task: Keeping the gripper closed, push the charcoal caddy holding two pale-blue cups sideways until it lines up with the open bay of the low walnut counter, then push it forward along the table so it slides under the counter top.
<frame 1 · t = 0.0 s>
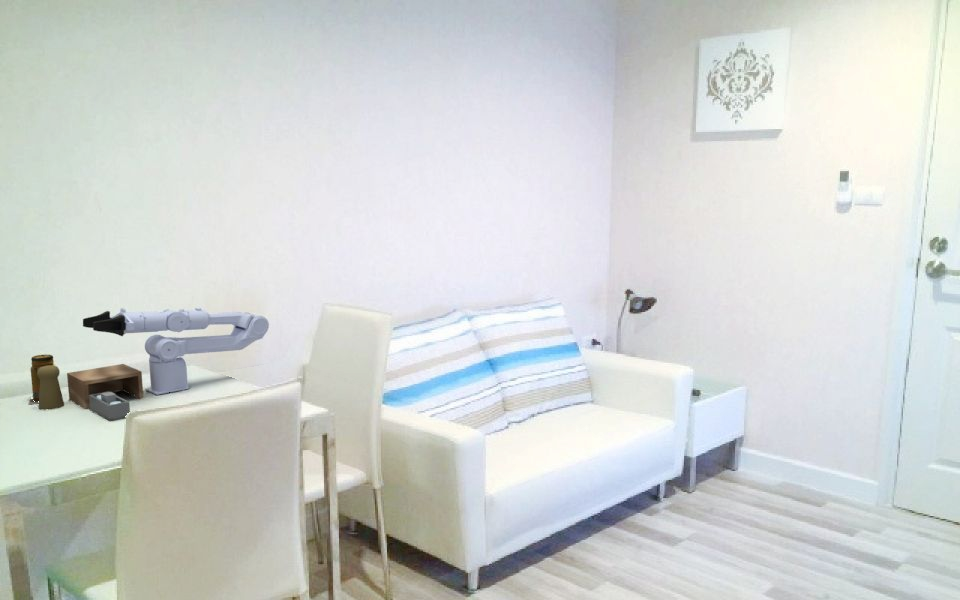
hand: (88, 324, 206), 22 cm above the table, tool horizontal, fingers open, 7 cm apart
condiment: (45, 400, 215), on the table
counter: (106, 398, 215), on the table
tray: (109, 413, 201), on the table
cork: (51, 407, 208), on the table
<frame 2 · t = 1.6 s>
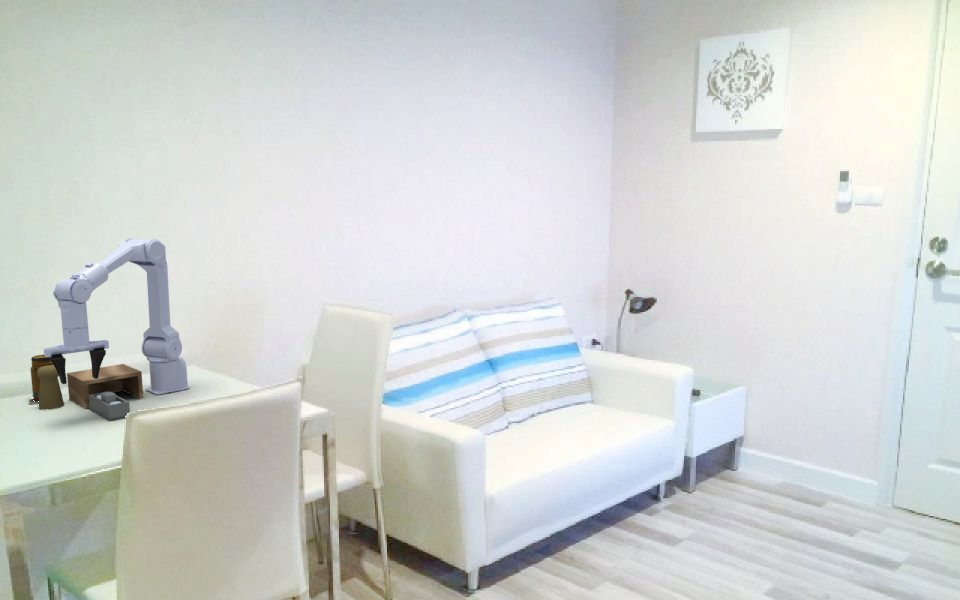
hand: (79, 380, 195), 10 cm above the table, tool pointing down, fingers open, 7 cm apart
nothing on the table moved.
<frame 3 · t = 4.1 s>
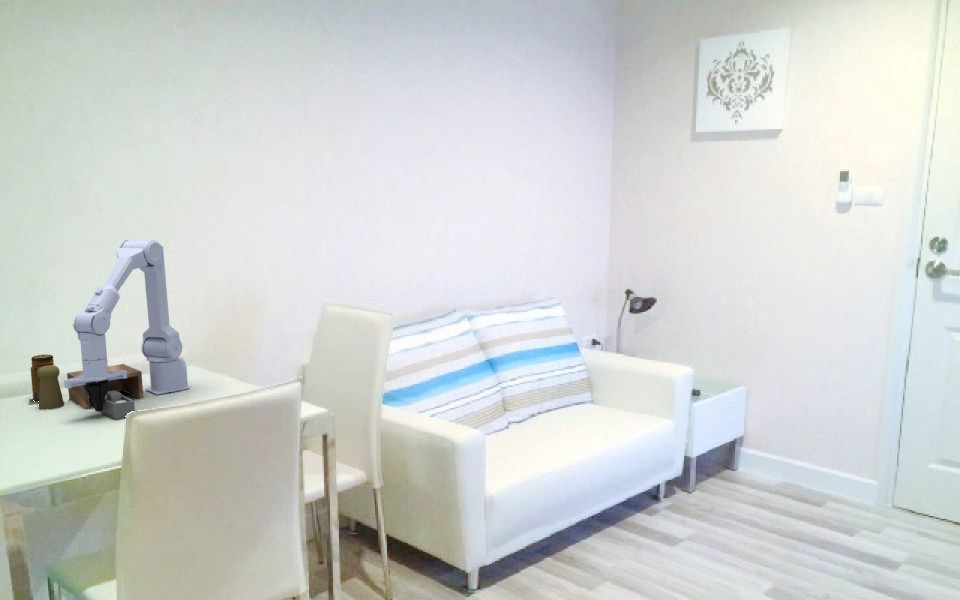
hand: (98, 410, 199), 1 cm above the table, tool pointing down, fingers closed
tray: (114, 412, 202), on the table, touching gripper
everything else where it was.
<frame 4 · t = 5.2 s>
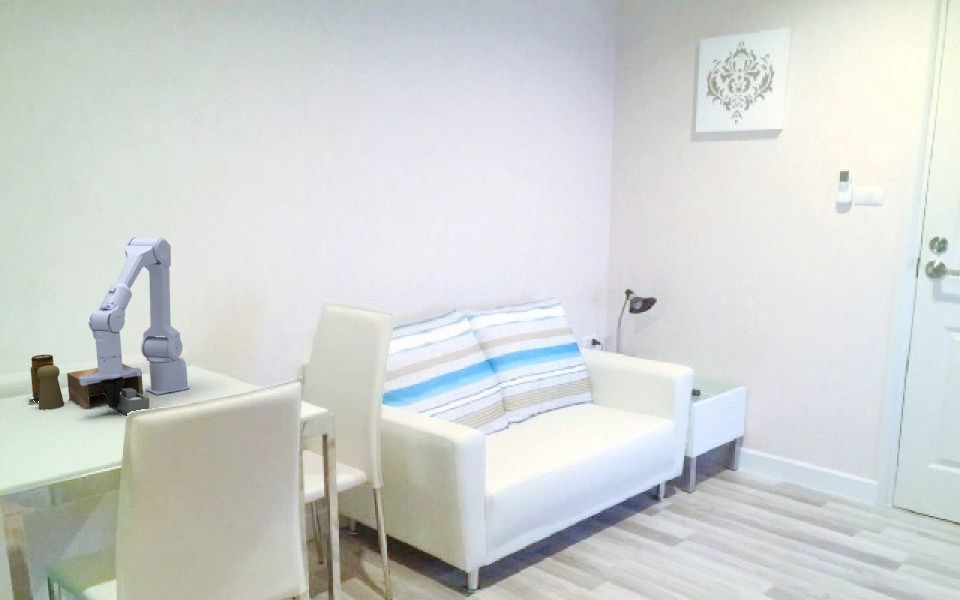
hand: (113, 407, 202), 1 cm above the table, tool pointing down, fingers closed
tray: (128, 409, 204), on the table, touching gripper
everything else where it was.
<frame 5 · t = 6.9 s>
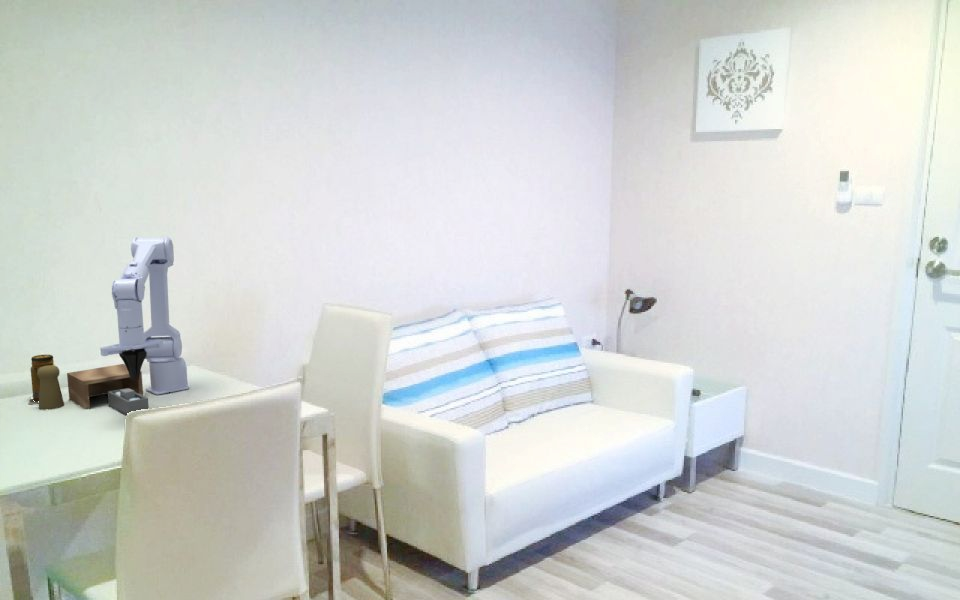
hand: (134, 379, 195), 10 cm above the table, tool pointing down, fingers closed
tray: (128, 409, 204), on the table
everything else where it was.
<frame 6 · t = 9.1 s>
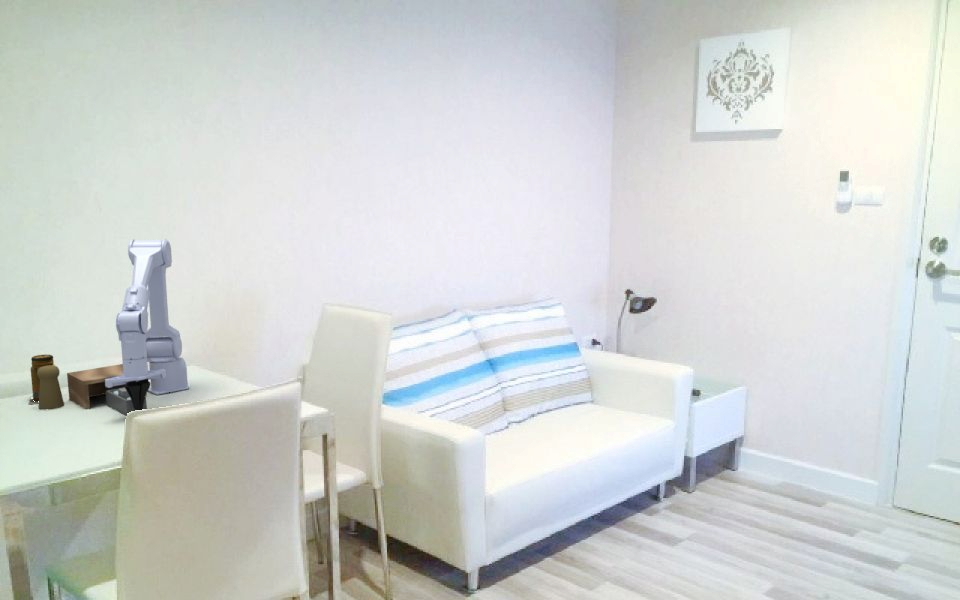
hand: (138, 409, 199), 2 cm above the table, tool pointing down, fingers closed, pressing on tray
tray: (126, 408, 205), on the table, touching gripper
everything else where it was.
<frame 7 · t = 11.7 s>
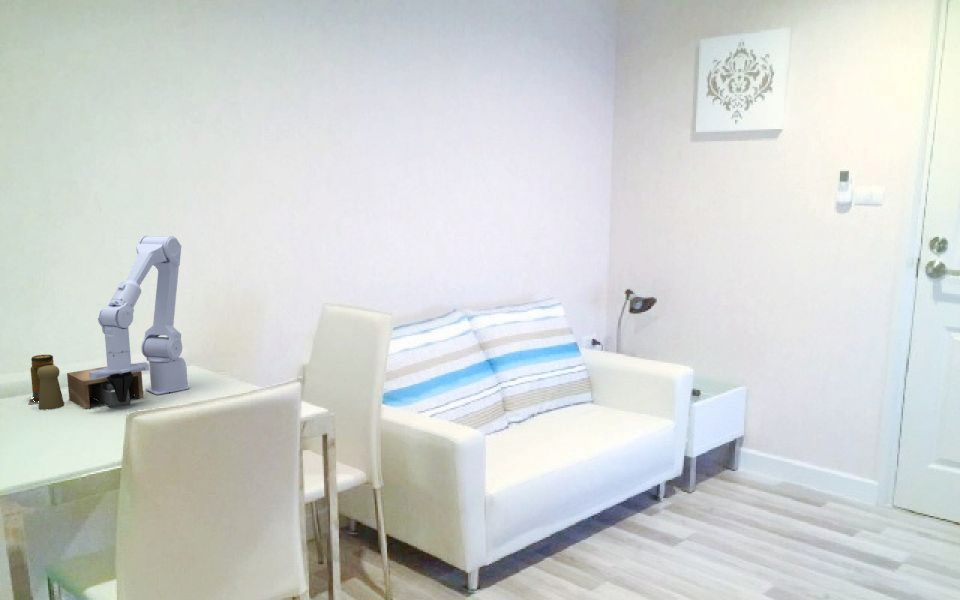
hand: (122, 401, 206), 2 cm above the table, tool pointing down, fingers closed, pressing on tray
tray: (110, 400, 213), on the table, touching gripper
everything else where it was.
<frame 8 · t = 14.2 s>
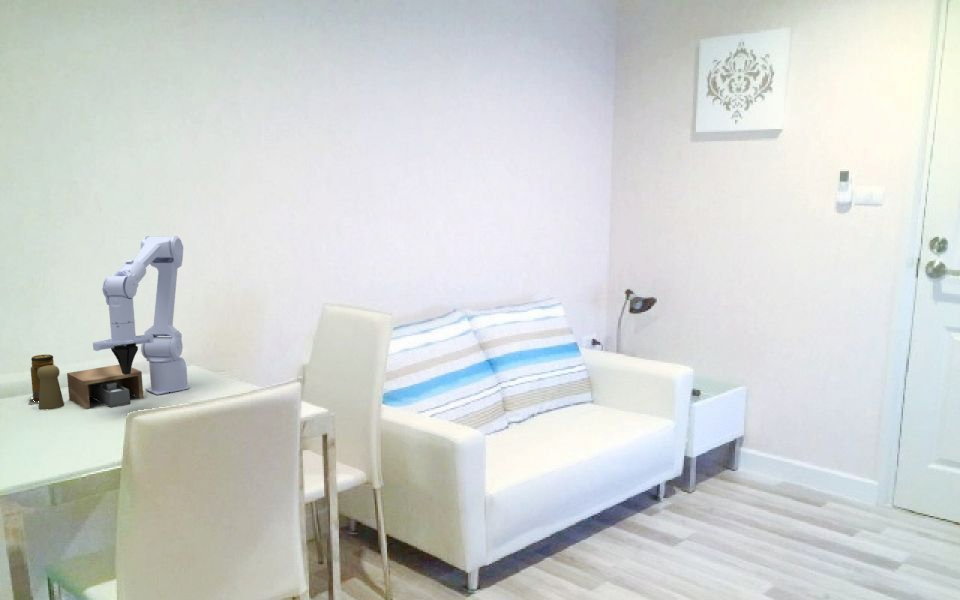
hand: (126, 373, 202), 10 cm above the table, tool pointing down, fingers closed
tray: (110, 400, 213), on the table
everything else where it was.
at the end: tray inside the target area (0.9 cm from its centre), on the table; tray tilted 0°; tray moved 13.0 cm from its start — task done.
